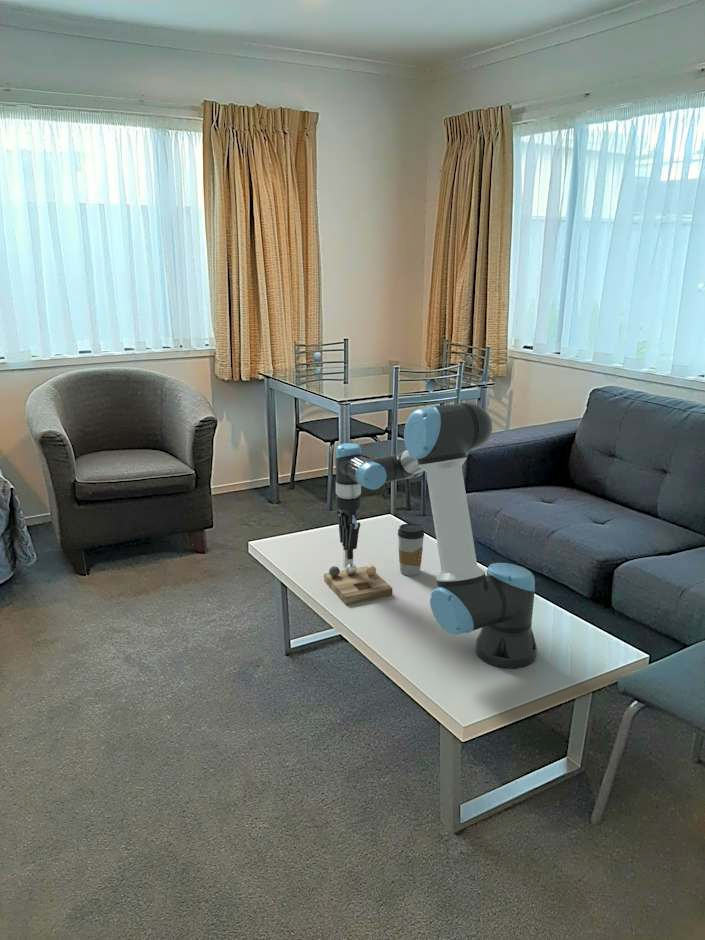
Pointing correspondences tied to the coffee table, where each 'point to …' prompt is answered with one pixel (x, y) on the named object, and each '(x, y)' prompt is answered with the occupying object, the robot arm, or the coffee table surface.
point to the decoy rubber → (334, 571)
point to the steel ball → (351, 569)
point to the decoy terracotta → (370, 570)
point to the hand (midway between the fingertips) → (348, 567)
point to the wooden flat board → (358, 586)
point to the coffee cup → (410, 548)
